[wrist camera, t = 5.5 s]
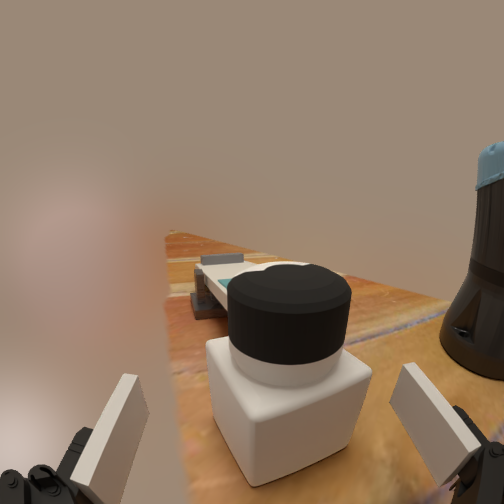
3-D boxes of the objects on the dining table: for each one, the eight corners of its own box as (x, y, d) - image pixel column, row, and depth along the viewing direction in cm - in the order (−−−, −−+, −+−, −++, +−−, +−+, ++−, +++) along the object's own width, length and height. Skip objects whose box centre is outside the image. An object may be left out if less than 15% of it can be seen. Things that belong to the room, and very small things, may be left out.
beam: (195, 272, 49) (194, 255, 49) (244, 268, 52) (243, 252, 52) (230, 315, 23) (228, 279, 22) (325, 301, 25) (325, 269, 25)
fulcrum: (190, 300, 39) (188, 265, 38) (276, 291, 43) (277, 259, 41) (195, 319, 33) (192, 280, 32) (292, 307, 37) (294, 270, 36)
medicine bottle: (349, 446, 14) (395, 281, 11) (251, 489, 11) (252, 316, 9) (295, 391, 21) (308, 249, 18) (212, 416, 18) (198, 260, 15)
